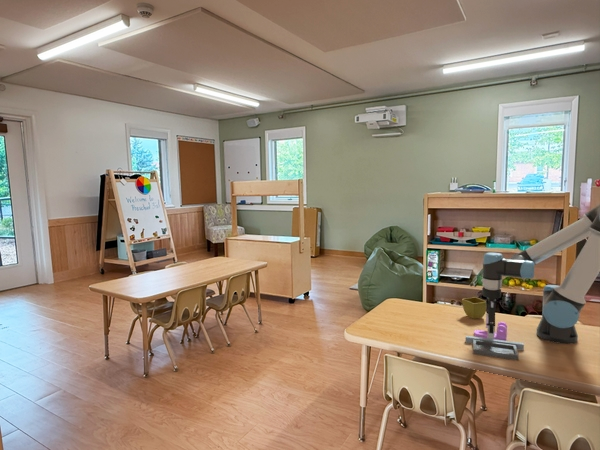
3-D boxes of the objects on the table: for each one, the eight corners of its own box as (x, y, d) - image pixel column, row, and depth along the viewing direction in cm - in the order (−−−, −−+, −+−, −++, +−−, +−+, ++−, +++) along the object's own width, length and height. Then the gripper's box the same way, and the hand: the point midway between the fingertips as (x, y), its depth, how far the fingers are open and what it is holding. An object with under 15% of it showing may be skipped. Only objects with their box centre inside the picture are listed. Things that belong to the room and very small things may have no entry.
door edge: (523, 348, 159) (523, 343, 158) (523, 350, 157) (523, 344, 157) (465, 340, 167) (465, 335, 167) (465, 342, 166) (465, 337, 165)
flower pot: (461, 315, 198) (461, 298, 197) (474, 313, 200) (475, 296, 199) (473, 321, 190) (474, 303, 188) (487, 318, 192) (488, 301, 191)
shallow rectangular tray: (515, 349, 158) (515, 345, 157) (518, 360, 149) (518, 355, 148) (473, 344, 164) (473, 339, 164) (473, 354, 155) (473, 349, 155)
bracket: (506, 337, 170) (507, 322, 169) (505, 342, 166) (506, 326, 165) (474, 332, 177) (475, 317, 176) (473, 336, 172) (473, 321, 171)
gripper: (481, 279, 181) (479, 322, 184) (483, 294, 159) (481, 343, 161) (499, 281, 178) (497, 324, 181) (503, 296, 156) (501, 346, 158)
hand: (489, 333), depth 171 cm, fingers open, 13 cm apart
